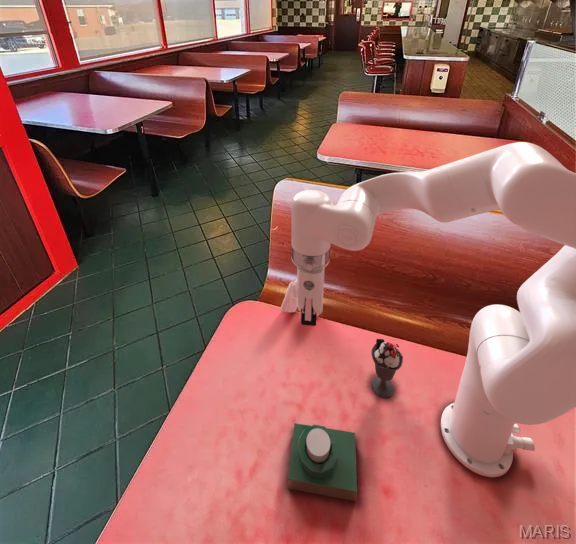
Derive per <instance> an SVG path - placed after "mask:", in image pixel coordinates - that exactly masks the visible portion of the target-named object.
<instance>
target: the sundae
mask: <svg viewBox="0 0 576 544" xmlns="http://www.w3.org/2000/svg"><path fill="white" fill-rule="evenodd" d="M398 348H400V346H399V344H398V343H396V344H393V343H392V342H388V341H385V339H383V338H376V340H375V343H374V344H373V347H372V348H371V351H370V352H371V358H372V361H373V363H374V369H375V373H376V376H375V377H374V378H373V379H372V380H371V388H372V391H373V393H375V394H376V395H377V396H379V397H380V398H384V399H387V398H390V397H392V396H393V394H394V391H395V389H394V388H395V387H394V384H393V382H392V380H393V378H394V377H395V375H396V371H398V370H399V369H401V368H402V365H403V363H404V360H403V359H404V356H403V354H402V353H401V351H400V350H399V349H398Z"/></svg>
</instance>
